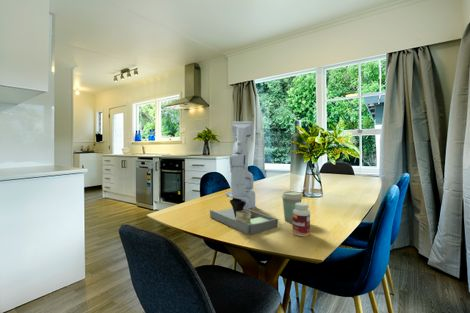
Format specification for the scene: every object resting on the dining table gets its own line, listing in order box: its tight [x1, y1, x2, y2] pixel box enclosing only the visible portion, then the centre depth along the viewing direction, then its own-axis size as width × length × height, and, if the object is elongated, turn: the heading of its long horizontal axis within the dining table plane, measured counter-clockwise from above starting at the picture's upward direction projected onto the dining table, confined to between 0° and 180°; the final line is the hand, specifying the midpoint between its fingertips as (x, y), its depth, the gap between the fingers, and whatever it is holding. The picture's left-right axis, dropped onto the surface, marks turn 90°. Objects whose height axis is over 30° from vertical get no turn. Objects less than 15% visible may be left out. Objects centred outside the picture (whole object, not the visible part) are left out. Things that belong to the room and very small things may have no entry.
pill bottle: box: [291, 201, 311, 237], centre depth 89 cm, size 6×6×11 cm
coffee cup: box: [281, 190, 303, 224], centre depth 104 cm, size 8×8×12 cm
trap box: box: [209, 207, 279, 236], centre depth 103 cm, size 15×27×3 cm, turn 37°
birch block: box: [236, 210, 250, 224], centre depth 96 cm, size 4×4×4 cm
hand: (238, 217), depth 99 cm, fingers closed
